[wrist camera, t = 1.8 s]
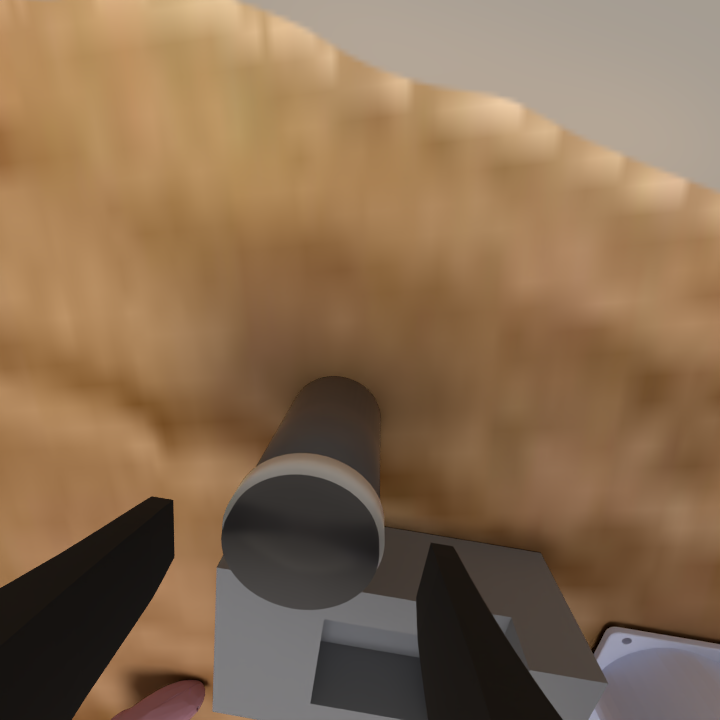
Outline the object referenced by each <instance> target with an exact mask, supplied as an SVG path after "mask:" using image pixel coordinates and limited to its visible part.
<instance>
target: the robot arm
mask: <svg viewBox="0 0 720 720" xmlns="http://www.w3.org/2000/svg"><path fill="white" fill-rule="evenodd" d="M173 559H174V514H173V500H170V499H164V498H158V497H150V498H148V499H147V500H145V501H143V502H142V503H140V504H138V505H137V506H135V507H134V508H132V509H131V510H129V511H127V512H126V513H124V514H123V515H121V516H120V517H118V518H116V519H115V520H113V521H112V522H110V523H109V524H107V525H105V526H104V527H102V528H101V529H99V530H98V531H96V532H94V533H93V534H91V535H89V536H88V537H86V538H85V539H83V540H81V541H80V542H78V543H77V544H75V545H73V546H72V547H70V548H69V549H67V550H65V551H64V552H62V553H60V554H59V555H57V556H55V557H53V558H52V559H50V560H48V561H47V562H45V563H43V564H41V565H40V566H38V567H36V568H34V569H33V570H31V571H29V572H28V573H26V574H24V575H22V576H21V577H19V578H17V579H15V580H14V581H12V582H10V583H9V584H7V585H5V586H3V587H1V588H0V720H72V718H73V717H74V715H75V714H76V712H77V710H78V709H79V707H80V706H81V704H82V703H83V701H84V699H85V698H86V696H87V695H88V693H89V692H90V690H91V689H92V687H93V686H94V684H95V683H96V681H97V680H98V679H99V677H100V676H101V674H102V673H103V671H104V670H105V668H106V667H107V665H108V664H109V662H110V661H111V659H112V658H113V656H114V655H115V653H116V652H117V650H118V649H119V647H120V646H121V644H122V643H123V641H124V640H125V639H126V637H127V636H128V634H129V633H130V631H131V630H132V628H133V627H134V625H135V624H136V622H137V621H138V619H139V618H140V616H141V615H142V613H143V612H144V610H145V609H146V607H147V606H148V604H149V602H150V601H151V599H152V598H153V596H154V594H155V593H156V591H157V589H158V587H159V585H160V583H161V582H162V580H163V578H164V576H165V574H166V572H167V570H168V568H169V566H170V564H171V563H172V561H173ZM416 612H417V639H418V649H419V657H420V664H421V672H422V680H423V687H424V695H425V702H426V710H427V717H428V720H563V719H562V717H561V716H560V715H559V713H558V712H557V711H556V709H555V708H554V707H553V705H552V704H551V703H550V701H549V700H548V698H547V697H546V696H545V694H544V693H543V691H542V690H541V688H540V687H539V686H538V684H537V683H536V681H535V680H534V678H533V677H532V675H531V674H530V672H529V671H528V669H527V668H526V666H525V665H524V664H523V662H522V661H521V659H520V658H519V656H518V655H517V653H516V651H515V650H514V648H513V647H512V645H511V644H510V642H509V641H508V639H507V638H506V636H505V634H504V633H503V631H502V629H501V628H500V626H499V625H498V623H497V621H496V620H495V618H494V616H493V615H492V613H491V612H490V610H489V608H488V607H487V605H486V603H485V601H484V600H483V598H482V596H481V595H480V593H479V591H478V589H477V588H476V586H475V584H474V582H473V581H472V579H471V577H470V575H469V573H468V572H467V570H466V568H465V566H464V564H463V563H462V561H461V559H460V557H459V555H458V553H457V552H456V550H455V548H454V547H453V546H449V545H443V544H437V543H431V544H430V548H429V551H428V555H427V559H426V562H425V566H424V570H423V573H422V577H421V581H420V585H419V588H418V592H417V596H416ZM593 655H594V657H595V659H596V660H597V662H598V664H599V666H600V668H601V670H602V672H603V674H604V676H605V678H606V680H607V682H608V685H607V687H606V689H605V691H604V693H603V694H602V696H601V698H600V700H599V702H598V703H597V705H596V707H595V709H594V710H593V712H592V714H591V716H590V718H589V719H588V720H720V644H716V643H710V642H704V641H698V640H692V639H686V638H680V637H674V636H668V635H663V634H657V633H651V632H645V631H639V630H633V629H627V628H621V627H610V628H608V629H607V630H606V631H605V633H604V635H603V637H602V639H601V641H600V643H599V645H598V647H597V649H596V651H595V653H594V654H593Z"/></svg>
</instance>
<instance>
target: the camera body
mask: <svg viewBox="0 0 720 720" xmlns="http://www.w3.org/2000/svg"><path fill="white" fill-rule="evenodd" d="M384 534H385V546H384V553H383V557H382V560H381V562H380V564H379V566H378V568H377V570H376V573H375V575H374V577H373V579H372V580H371V582H370V583H369V585H368V586H367V587H366V588H365V589H364V590H363V591H362V592H361V593H360V594H358V595H357V596H356V597H354V598H353V599H351V600H349V601H348V602H345V603H343V604H341V605H338V606H334V607H331V608H326V609H319V610H299V609H292V608H287V607H283V606H280V605H277V604H273V603H271V602H269V601H267V600H264V599H263V598H261V597H259V596H257V595H256V594H254V593H253V592H251V591H250V590H248V589H247V588H246V587H245V586H244V585H243V584H242V583H241V582H240V581H239V580H238V579H237V578H236V577H235V575H234V574H233V573H232V571H231V570H230V568H229V566H228V564H227V562H226V560H225V557H224V555H223V557H222V559H221V560H220V562H219V564H218V566H217V578H216V612H215V646H214V681H213V712H217V713H223V714H229V715H235V716H240V717H246V718H252V719H257V720H428V717H427V710H426V702H425V695H424V687H423V680H422V672H421V664H420V657H419V649H418V639H417V612H416V596H417V592H418V588H419V585H420V581H421V577H422V573H423V570H424V566H425V562H426V559H427V555H428V551H429V548H430V544H431V543H437V544H443V545H449V546H453V547H454V548H455V550H456V552H457V553H458V555H459V557H460V559H461V561H462V563H463V564H464V566H465V568H466V570H467V572H468V573H469V575H470V577H471V579H472V581H473V582H474V584H475V586H476V588H477V589H478V591H479V593H480V595H481V596H482V598H483V600H484V601H485V603H486V605H487V607H488V608H489V610H490V612H491V613H492V615H493V616H494V618H495V620H496V621H497V623H498V625H499V626H500V628H501V629H502V631H503V633H504V634H505V636H506V638H507V639H508V641H509V642H510V644H511V645H512V647H513V648H514V650H515V651H516V653H517V655H518V656H519V658H520V659H521V661H522V662H523V664H524V665H525V666H526V668H527V669H528V671H529V672H530V674H531V675H532V677H533V678H534V680H535V681H536V683H537V684H538V686H539V687H540V688H541V690H542V691H543V693H544V694H545V696H546V697H547V698H548V700H549V701H550V703H551V704H552V705H553V707H554V708H555V709H556V711H557V712H558V713H559V715H560V716H561V717H562V719H563V720H588V719H589V718H590V716H591V714H592V712H593V710H594V709H595V707H596V705H597V703H598V702H599V700H600V698H601V696H602V694H603V693H604V691H605V689H606V687H607V685H608V682H607V680H606V678H605V676H604V674H603V672H602V670H601V668H600V666H599V664H598V662H597V660H596V659H595V657H594V655H593V653H592V651H591V649H590V647H589V645H588V643H587V641H586V639H585V637H584V635H583V634H582V632H581V630H580V628H579V626H578V624H577V622H576V620H575V618H574V616H573V614H572V612H571V610H570V608H569V607H568V605H567V603H566V601H565V599H564V597H563V595H562V593H561V591H560V589H559V587H558V585H557V583H556V581H555V580H554V578H553V576H552V574H551V572H550V570H549V568H548V566H547V564H546V562H545V560H544V558H543V556H542V554H541V553H538V552H532V551H526V550H520V549H514V548H508V547H502V546H496V545H490V544H484V543H478V542H472V541H466V540H461V539H455V538H449V537H443V536H437V535H431V534H425V533H419V532H413V531H407V530H401V529H395V528H389V527H384Z"/></svg>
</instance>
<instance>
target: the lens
mask: <svg viewBox="0 0 720 720" xmlns="http://www.w3.org/2000/svg"><path fill="white" fill-rule="evenodd" d="M380 422H381V420H380V410H379V407H378V404H377V402H376V400H375V398H374V397H373V395H372V394H371V393H370V392H369V391H368V390H367V389H366V388H365V387H364V386H362V385H361V384H359V383H358V382H356V381H354V380H351V379H348V378H344V377H337V376H329V377H323V378H320V379H317V380H315V381H312V382H311V383H309V384H308V385H306V386H305V387H304V388H303V389H302V390H301V391H300V392H299V394H298V395H297V397H296V398H295V400H294V402H293V404H292V405H291V407H290V409H289V410H288V412H287V414H286V416H285V417H284V419H283V421H282V423H281V424H280V426H279V428H278V429H277V431H276V433H275V435H274V436H273V438H272V440H271V442H270V443H269V445H268V447H267V449H266V450H265V452H264V454H263V455H262V457H261V459H260V461H259V462H258V464H257V466H256V467H255V468H254V469H253V470H251V471H250V472H249V473H248V475H247V476H246V477H245V478H244V479H243V481H242V482H241V484H240V485H239V487H238V489H237V490H236V492H235V494H234V495H233V497H232V499H231V500H230V502H229V504H228V506H227V508H226V510H225V514H224V517H223V525H222V537H221V540H222V550H223V554H224V557H225V560H226V562H227V564H228V566H229V568H230V570H231V571H232V573H233V574H234V575H235V577H236V578H237V579H238V580H239V581H240V582H241V583H242V584H243V585H244V586H245V587H246V588H247V589H248V590H250V591H251V592H253V593H254V594H256V595H257V596H259V597H261V598H263V599H264V600H267V601H269V602H271V603H273V604H277V605H280V606H283V607H287V608H292V609H299V610H319V609H326V608H331V607H334V606H338V605H341V604H343V603H345V602H348V601H349V600H351V599H353V598H354V597H356V596H357V595H358V594H360V593H361V592H362V591H363V590H364V589H365V588H366V587H367V586H368V585H369V583H370V582H371V580H372V579H373V577H374V575H375V573H376V570H377V568H378V566H379V564H380V562H381V560H382V557H383V553H384V546H385V534H384V512H383V507H382V504H381V502H380Z"/></svg>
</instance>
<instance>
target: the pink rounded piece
mask: <svg viewBox="0 0 720 720" xmlns="http://www.w3.org/2000/svg"><path fill="white" fill-rule="evenodd" d="M204 697H205V688H204V686H203V684H202V683H201V682H200V681H198V680H184V681H179V682H176V683H173V684H170V685H167V686H165V687H163V688H161V689H159V690H157V691H155V692H154V693H152V694H151V695H149V696H147V697H146V698H144V699H143V700H141V701H140V702H138V703H137V704H136V705H134V706H133V707H132V708H129V709H126V710H124V711H122V712H120V713H118V714H117V715H116V716H115V717H113V718H112V719H111V720H190V719H191V718H192V717H193V715H194V714H195V713H196V712H197V711H198V710H199V708H200V706H201V704H202V702H203V700H204Z"/></svg>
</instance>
